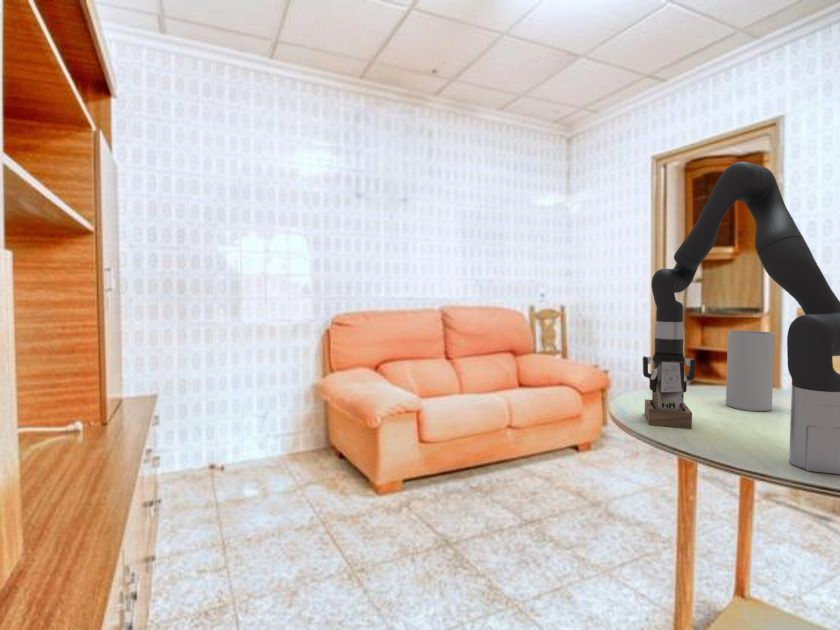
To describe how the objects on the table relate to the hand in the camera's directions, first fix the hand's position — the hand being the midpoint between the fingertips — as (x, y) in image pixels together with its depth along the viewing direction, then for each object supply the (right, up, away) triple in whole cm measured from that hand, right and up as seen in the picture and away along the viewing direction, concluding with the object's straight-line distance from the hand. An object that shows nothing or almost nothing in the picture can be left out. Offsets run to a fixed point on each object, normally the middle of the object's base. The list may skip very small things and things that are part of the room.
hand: (667, 392), depth 140 cm
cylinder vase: (+36, -8, +17) cm, 40 cm away
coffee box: (0, -6, 0) cm, 7 cm away
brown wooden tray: (0, -8, 0) cm, 8 cm away
